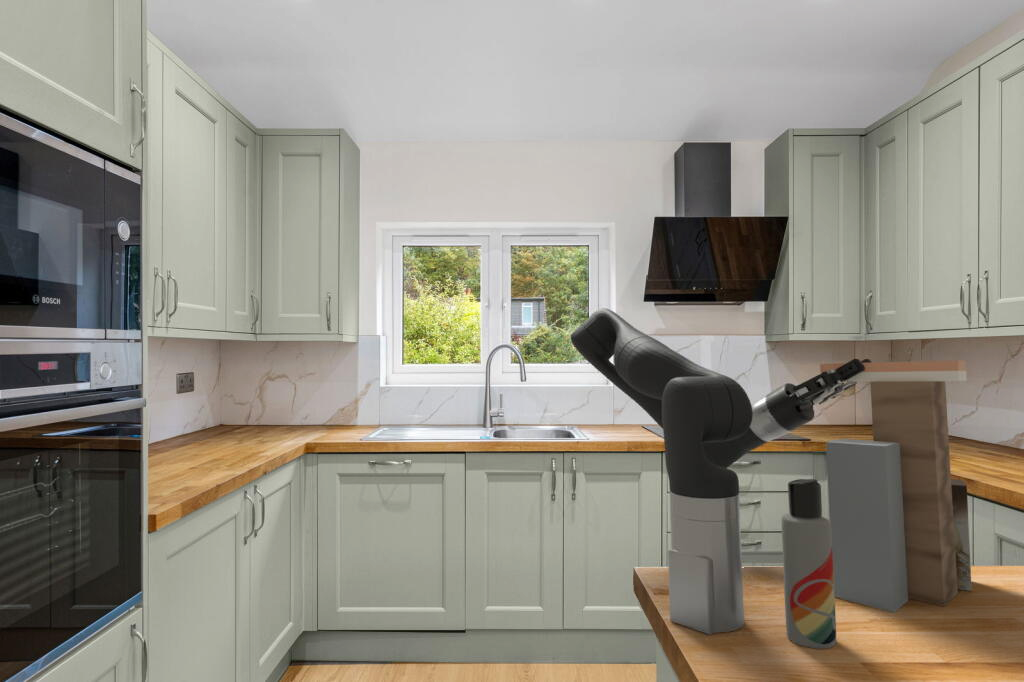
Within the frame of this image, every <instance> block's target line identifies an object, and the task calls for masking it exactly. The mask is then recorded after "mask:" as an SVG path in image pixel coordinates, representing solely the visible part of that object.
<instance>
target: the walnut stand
mask: <svg viewBox="0 0 1024 682" xmlns="http://www.w3.org/2000/svg"><path fill="white" fill-rule="evenodd" d="M869 383H870V398H871V399H870V400H871V401H870V403H871V420H872V421H871V423H872V437H873V438H872V439H873V440H872V441H882V442H897V443H900V459H901V477H902V496H903V514H904V533H905V551H906V569H907V588H908V599H910V600H915V601H920V602H924V603H928V604H932V605H936V606H941V607H946V605H948V604H949V603H950V602H951V601H952V600H953V599H954V598H956V596H958V595H959V592H958V591H959V589H957V572H956V555H955V538H954V522H953V505H952V488H951V479H952V475H951V474H952V473H951V472H952V471H951V459H950V458H951V456H950V441H949V440H950V439H949V438H950V437H949V422H948V420H949V419H948V409H947V408H948V406H947V404H948V403H947V391H946V390H947V389H946V381H886V382H869Z"/></svg>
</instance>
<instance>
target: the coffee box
mask: <svg viewBox="0 0 1024 682" xmlns="http://www.w3.org/2000/svg"><path fill="white" fill-rule="evenodd" d="M951 488H952V505H953V522H954V538H955V555H956V572H957V589H958V590H961V591H968V592H972V589H973V588H972V586H973V585H972V573H971V572H972V569H971V567H972V566H971V564H972V563H971V549H970V547H971V546H970V544H971V543H970V529H969V527H970V526H969V524H970V523H969V505H968V504H969V503H968V500H969V499H968V486H967V483H966V482H965V481H963V480H962V479H956V478H951Z"/></svg>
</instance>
